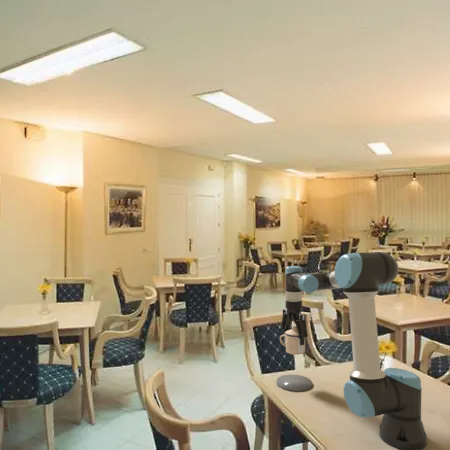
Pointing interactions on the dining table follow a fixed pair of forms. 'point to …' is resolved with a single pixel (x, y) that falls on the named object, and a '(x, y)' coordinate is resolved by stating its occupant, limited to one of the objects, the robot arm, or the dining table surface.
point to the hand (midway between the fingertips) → (293, 348)
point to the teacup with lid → (292, 341)
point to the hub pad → (294, 382)
